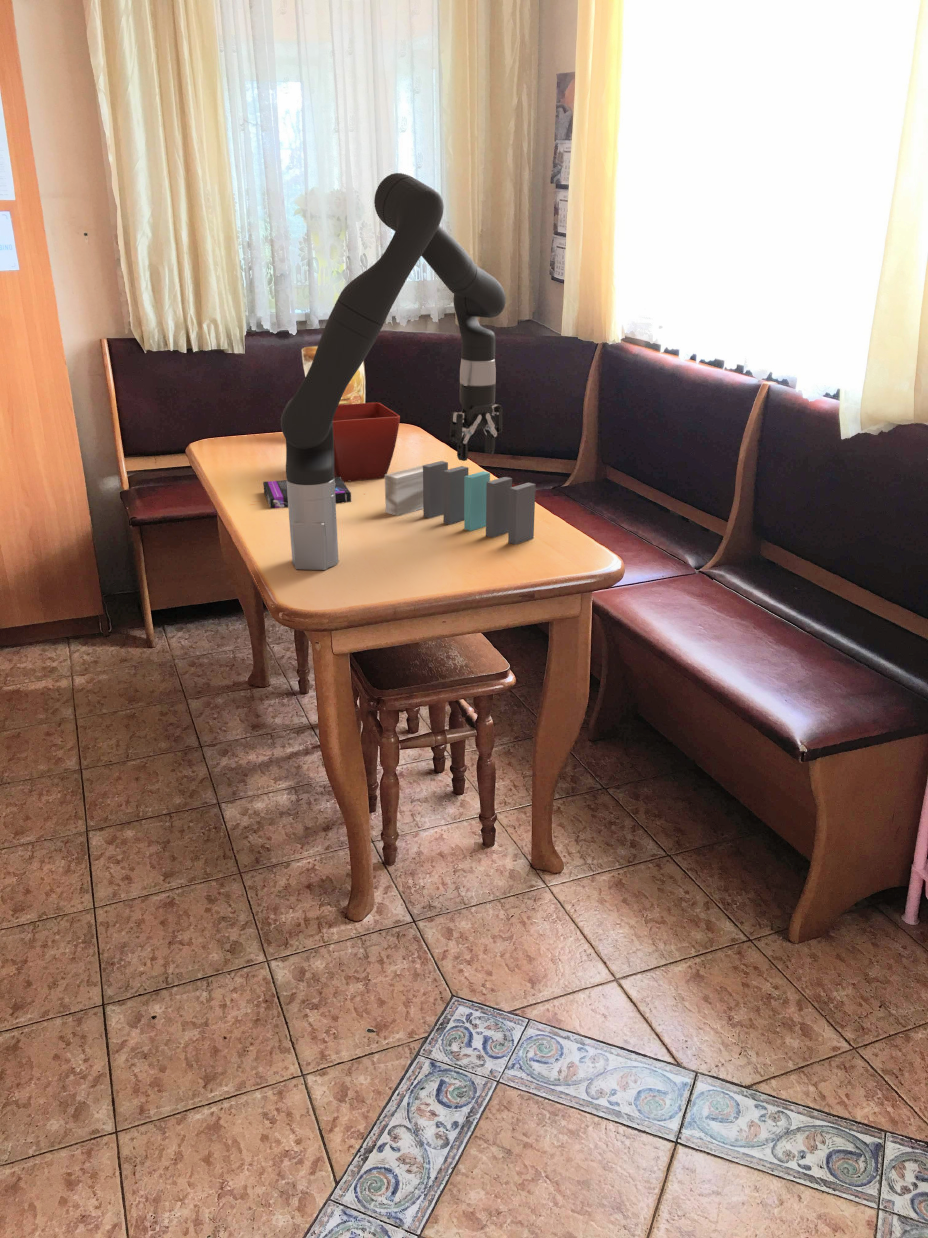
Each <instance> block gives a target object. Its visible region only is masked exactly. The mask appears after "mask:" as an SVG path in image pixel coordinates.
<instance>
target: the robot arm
mask: <svg viewBox="0 0 928 1238" xmlns="http://www.w3.org/2000/svg"><path fill="white" fill-rule="evenodd" d="M443 199H444V198H443V197H442V196H441V194H440V192H438V191H436V190H435V189H434V188H432V187H430V186H429V185H427V184H425V183H424V182H422V181H420V180H419V179H417V178H414V177H413V176H411V175H409V174H406V173H403V172H394V173H391V174H389V175H387V176H386V177H384V179H382V180H381V181H380V183H379V184H378V186H377V188H376V191H375V193H374V200H373V201H374V202H373V203H374V209H375V212H376V214H377V217H378V218H379V220H380V221H381V222H382V223H383V224H384V225H385V226H387V227H388V228H389V229H391V230H392V231H394V234H393V235H392V238H391V240H390V241H389V244H388V245H387V246H386V249H385V251H384V252H383V254H382V255H381V256H380V257H379V259H378V260H377V261H375V263H374V264H373V265H371V266H370V267H369V268H368V269H366V270H365V271H363V272H362V273H360V274H359V275H358V276H356V277H355V278H354V279H353V280H351V281H350V282H348V284H347V285H346V286H345V287H344V288H343V289H342V291H341V292H340V294H339V295H338V298H337V299H336V302H335V303H334V306H333V307H332V310H331V312H330V315H329V316H328V318H327V321H326V323H325V326H324V329H323V331H322V333H321V335H320V339H319V341H318V343H317V346H318V347H317V350H316V353H315V356H314V359H313V362H312V364H311V367H310V369H309V371H308V373H307V375H306V377H305V376H304V379H303V381H302V382H301V384H300V385H299V387H298V389H297V391H296V393H294V396H293V397H291V398H290V399H289V400H288V401H287V403H286V405H285V407H284V409H283V411H282V413H281V415H280V416H281V417H280V427H281V432H282V434H283V437H284V438H285V451H286V452H285V453H286V454H285V456H286V457H285V476H286V477H285V480H287V494H288V507H287V508H288V509H287V510H288V521H289V522H288V523H289V533H290V534H289V535H290V537H289V538H290V548H291V560H292V561H291V562H292V565H293V566H294V568H295V570H313V571H314V570H315V571H316V570H317V571H326V570H328V569H329V568H332V567H334V566H336V565H337V564H338V563H339V541H338V526H337V525H338V524H337V522H338V521H337V503H336V500H335V479H334V436H333V418H334V415H335V412H336V410H337V407H338V405H339V402H340V400H341V397H342V395H343V393H344V391H345V389H346V387H347V385H348V384H349V382H350V381H351V379H352V378H353V376H354V375H355V373H356V372H357V370H358V369H359V367H360V366H361V364H362V362H363V361H364V362H365V359H366V357H367V356H368V354H369V353H370V351H371V349H372V347H373V345H374V343H375V342H376V340H377V338H378V337H379V334H380V332H381V330H382V328H383V326H384V325H385V322H386V321H387V318H388V316H389V313H390V311H391V309H392V307H393V305H394V304H395V301H396V300H397V298H398V296H399V294H400V292H401V290H402V288H403V287H404V285H405V283H406V281H407V279H408V278H409V276H410V275H411V273H412V271H413V270H414V268H415V267H416V264H417V263H418V262H419V260H420V259H421V257H422V259H423V260H425V262H426V263H427V264H428V266H429V267H430V268H431V269H432V270H433V272H434V273H435V274H436V275H437V277H438V278H439V279H440V281H441V282H442V283H443V284H444V285H445V286H446V288H447V289H448V290H449V291H450V292H451V293H453V300H452V301H453V308H454V312H455V315H456V316H455V317H456V320H457V324H458V328H459V329H458V330H459V333H460V337H461V354H460V355H461V357H460V358H461V360H460V368H459V403H460V404H461V407H462V409H461V412H456V411H451V413H450V424H449V440H450V441H452V442H455V443H456V456H457V457H456V458H457V459H458V460H459V461H463V462H465V461H468V456H469V455H468V453H469V451H468V450H469V449H468V448H469V445H468V441H469V439H470V438H471V436H472V435H473V434H474V433H475V431H478V430H483V433H484V434H485V436H484V453H486V454H489V455H493V454H495V450H496V437H497V436H498V434H499V433H502V432H503V426H504V424H503V423H504V422H503V413H504V412H503V411H504V410H503V406H502V405H500V404H496V403H495V402H496V383H497V382H496V378H497V375H496V374H497V373H496V372H497V369H496V367H497V366H496V335H495V332H494V331H492V330H491V329H488V328H485V327H483V326H482V325H481V324H480V323H479V320H478V318H488V319H489V318H490V319H492V318H496V317H497V316H499V315H501V314H502V313H503V311H504V309H505V308H506V307H505V306H506V303H507V302H506V301H507V298H506V294H505V290H504V287H503V286H502V285H501V283H500V282H499V281H498V280H497V279H496V278H495V277H494V276H492V275H491V274H489V273H488V272H487V271H485V270H484V269H483V268H481V267H479V266H478V265H477V264H476V263H475V261H474V260H473V258H472V257H471V256H470V255H469V253H468V252H467V251H466V249H465V248H464V247H463V246H462V245H461V244H460V243H459V242H458V241H457V240H456V239H455V238H454V237H453V236H451V235H450V234H449V233H448V232H447V231H446V230H445V229H444V228H443V227H442V226H440V224H441V221H442V218H443V215H444V208H445V207H444V206H445V205H444V200H443Z"/></svg>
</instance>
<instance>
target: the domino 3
mask: <svg viewBox="0 0 928 1238" xmlns="http://www.w3.org/2000/svg"><path fill="white" fill-rule="evenodd" d="M488 481H491V473H490V472H489V471H485V470H483V471H479V472H475V473H473V474H471V473H470V474H468V475H467V476H465V481H464V520H463V522H464V523H463V529H464V530H466V531H469V532H472V531H475V530H479V529H481V528H486V484H487V482H488Z"/></svg>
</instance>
